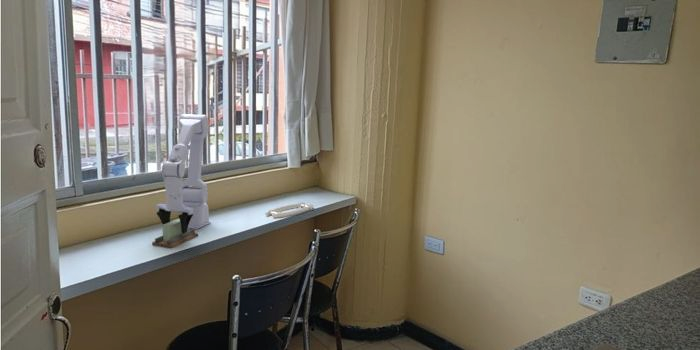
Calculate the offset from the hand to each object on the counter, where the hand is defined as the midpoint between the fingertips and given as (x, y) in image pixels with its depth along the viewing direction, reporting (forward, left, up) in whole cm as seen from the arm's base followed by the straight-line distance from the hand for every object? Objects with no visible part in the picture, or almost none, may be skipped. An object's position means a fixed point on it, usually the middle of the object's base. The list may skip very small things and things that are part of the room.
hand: (175, 231), depth 177 cm
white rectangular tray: (-52, +20, -4) cm, 56 cm away
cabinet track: (0, 0, -3) cm, 3 cm away
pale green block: (0, 0, -2) cm, 2 cm away
